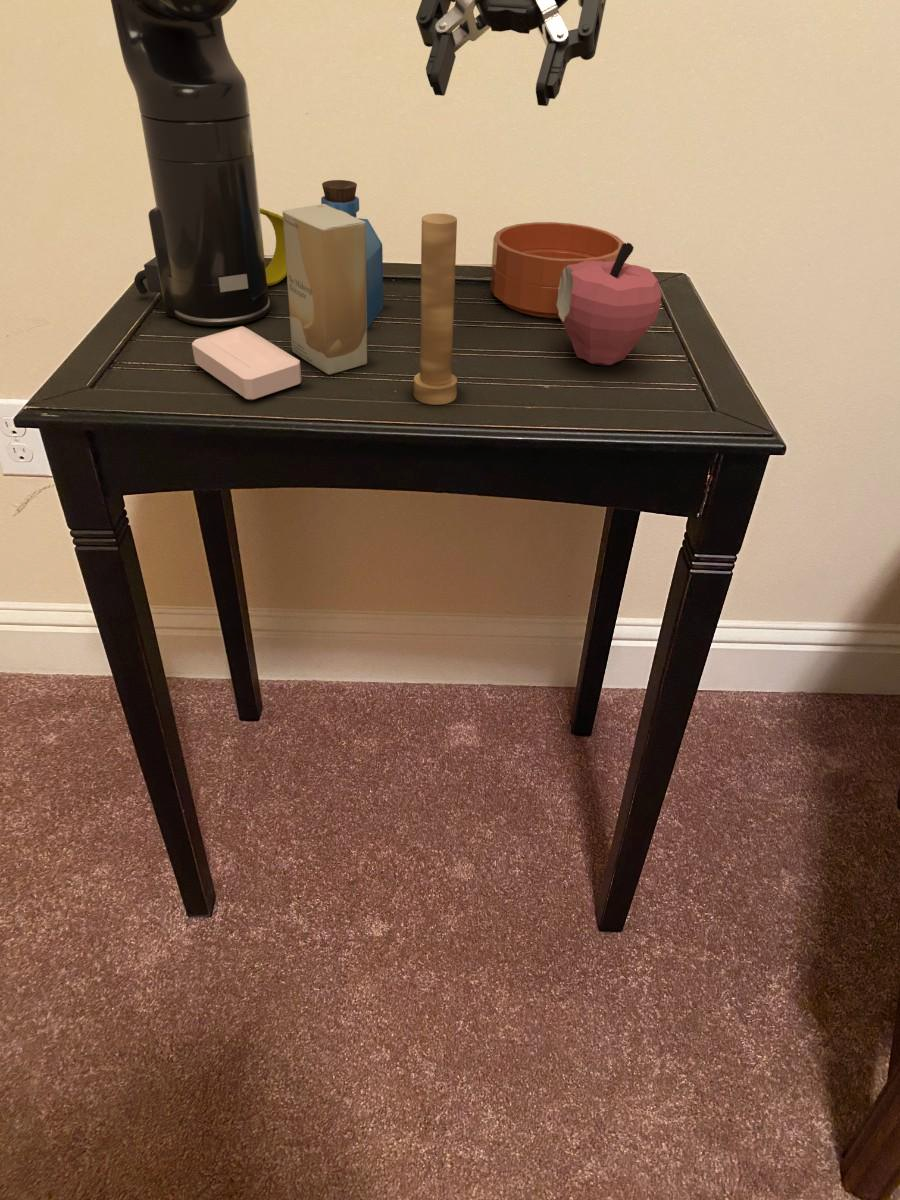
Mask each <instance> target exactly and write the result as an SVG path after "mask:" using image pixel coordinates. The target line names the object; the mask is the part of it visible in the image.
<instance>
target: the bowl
mask: <svg viewBox="0 0 900 1200" xmlns="http://www.w3.org/2000/svg"><path fill="white" fill-rule="evenodd" d="M624 243H625V242H624V241H623V240H622V238H620V237H619V236H617V235H615V234H614V233H612V232H609V231H607V230H603V229H601V228H596V227H594V226H588V225H582V224H576V223H571V222H569V223H568V222H557V221H535V222H525V223H517V224H512V225H509V226H505V227H503V228H501V229H499V230H498V231H496V232H495V235H494V236H493V242H492V258H491V270H490V271H491V273H490V291H491V293H492V295H493V296H494V297H495V298H497V300H500V302H501V303H502V304H503V305H504V306H506V307H508V308H509V309H511V310H513V311H516V312H518V313H521V314H524V315H528V316H534V317H537V318H547V319H560V317H559V315H558V314H559V311H558V308H557V299H558V288H559V283H560V278H561V275H562V272H563V269H564V268H565V266H566V265H572V264H578V263H580V262H583V261H602V262H607V261H616V258H617V256H618V253H619V251H620V248H621V246H622V244H624Z"/></svg>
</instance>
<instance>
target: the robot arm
mask: <svg viewBox="0 0 900 1200" xmlns="http://www.w3.org/2000/svg"><path fill="white" fill-rule="evenodd" d="M568 1H569V0H421V1H420V3H419V7H418V11H417V13H416V15H415V20H416V24H417V26H418V30H419V33H420V36H421V39H422V42H423V45H424V46H425V47H428V48H430V53H429V56H428V59H427V63H426V66H425V72H426V77H427V80H428V83H429V86H430V88H431V89H432V90H433V93H434V95H435V96H440V97H441V96H442V97H444V96H445V95H446V93H447V89H448V85H449V82H450V78H451V75H452V70H453V68H454V65H455V60H456V58H457V56H456V52H457V51H459V50H460V49H461V48H462V47H463V46H464V45H465V44H466V43H468V42H469V41H471V42H475V41H477V40H478V39H479V38H480V37H482V36H483V35H484V34H485V33H486V32H487V31H488V30H489V29H490V30H491V32H500V33H501V32H507V31H512V32H516V33H518V34H527V35H530V32H531V31H532V30H535V29H537V31H538V34H540V37H541V39H542V41H543V43H544V44H545V47H546V48H545V50H544V51H545V52H544V54H543V57H542V61H541V65H540V69H539V73H538V76H537V80H536V83H535V95H536V102H537V106H539V107H541V106H542V107H548V106H549V103H550V99H551V100H556V98H557V96H559V93H560V90H561V86H562V84H563V80H564V76H565V72H566V68H567V65H568V64H569V63H570V61H571V60H573V59H576V58H580V59H582V60H583V61H588V60H592V59H593V58H594V57H595V55H596V52H597V48H598V47H597V46H598V42H599V36H600V32H601V28H602V22H603V17H604V11H605V7H606V4H607V3H606V2H607V0H577V4H578V6H579V7H580V8H581V11H580V14H579V15H580V16H579V21H578V25H577V28H574V29H573V28H572V29H568V28H567V25H566V24H565V22H564V20H563V18H562V16H561V14H560V11H559V9H560V8H562V7H563V6H564V5H565V4H566V3H567V2H568ZM237 2H238V0H110V3H111V8H112V9H111V10H112V14H113V19H114V24H115V29H116V32H117V37H118V42H119V46H120V47H119V48H120V51H121V57H122V60H123V63H124V66H125V69H126V72H127V76H128V77H129V79H130V81H131V83H132V86H133V88H134V91H135V94H136V99H137V103H138V109H139V113H140V120H141V126H142V132H143V137H144V144H145V149H146V153H147V154H146V155H147V160H148V166H149V172H150V177H151V178H150V179H151V184H152V190H153V195H154V202H155V207H153V208H151V209H150V211H148V216H147V217H148V222H149V227H150V233H151V239H152V245H153V250H154V255H155V256H154V257H153V258H151V259H150V260H149V261H147V262H146V263H144V264H143V268H144V269H142V270H139V271H138V272H137V273H136V274H135V276H134V279H133V282H134V285H135V287H136V289H137V291H138V293H139V294H140V295H145V294H147V293H148V292H150V293H159V294H161V295H162V302H163V307H164V313H165V317H172V318H173V317H174V318H176V319H178V320H180V321H182V322H184V323H187V324H189V325H190V324H191V325H195V326H203V327H231V326H238V325H244V324H248V323H251V322H254V321H257V320H259V319H261V318H263V317H264V316H266V315H267V314H268V313H269V312H270V310H271V301H270V300H271V299H270V298H269V286H268V285H267V279H266V270H265V269H266V259H265V250H264V240H263V239H264V238H263V229H262V219H261V214H260V208H261V207H260V198H259V191H258V190H259V188H258V180H257V169H256V161H255V160H256V159H255V149H254V141H253V130H252V129H253V128H252V120H251V114H250V112H251V110H250V102H249V101H250V100H249V91H248V85H247V81H246V78H245V77H244V75H243V74H242V72H241V70H240V69H239V68H238V66H237V65H236V63H235V61H234V59H233V57H232V54H231V53H230V50H229V47H228V44H227V42H226V38H225V33H224V26H223V19H222V17H224V16H225V15H226V14H227V13H228V12H230V11H231V10H232V9H233V7H234V6H235V5H236V4H237ZM452 3H454V6H453V7H452V8H451V9H450V6H451V4H452ZM475 8H476V9H477V11H478V15H476V17H475V14H474V10H475ZM144 280H146V285H147V287H146V285H145V284H144Z"/></svg>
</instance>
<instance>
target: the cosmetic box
mask: <svg viewBox="0 0 900 1200" xmlns="http://www.w3.org/2000/svg"><path fill="white" fill-rule="evenodd" d="M282 217H283V224H284V239H285V253H286V268H287V276H286V282H287V296H288V308H289V309H288V310H289V311H288V312H289V325H290V341H291V351H292V352H293V353H294V354H295V355H297V356H298V357H300V358H301V359H302V360H304V361H306V362H307V363H308V364H310V365H312V366H314V367H315V368H317V369H318V370H320V371H321V372H323V373H325V374H327V375H329V376H330V375H333V374H334V375H335V374H337V373H340V372H344V371H347V370H351V369H354V368H359V367H361V366H365V365H367V364H368V328H367V291H366V222H365V221H362V220H360V219H361V218H360V219H358V218H359V217H356V218H355V217H353V216H351V215H349V214H348V213H346V212H343V211H341V210H337V209H335V208H332V207H330V206H328V205H326V204H321V203H319V204H314V205H308V206H302V207H296V208H291V209H286V210H282Z"/></svg>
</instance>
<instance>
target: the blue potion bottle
mask: <svg viewBox="0 0 900 1200" xmlns="http://www.w3.org/2000/svg"><path fill="white" fill-rule="evenodd" d="M321 186H322V191H323V194H324V195H323V196H321V198H320V201H321V202H320V204H326V205H328V206H330V207H332V208H335V209H337V210H341V211H343V212H346V213H348V214H349V215H351V216H353V217H355V218H358V219H360V220H362V221H365V222H366V291H367V329H369V327H370V326H371V325H372V323H373V322H374V321H375V319H376V318H377V316H378V315H379V314H380V313H381V311H382V310H383V309H384V263H383V261H384V260H383V259H384V258H383V254H384V253H383V242H382V241H381V239H380V238H379V236H378V234H377V232H376V231H375V229H374V228H373V226H372V224H371V223H370V221H369V219H368V218H360V217H357V213H358V212H360V197H358V196H356V193H357V188H358V184H357V182H355V181H352V180H347V179H332V180H326V181H323V182H322V183H321Z"/></svg>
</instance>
